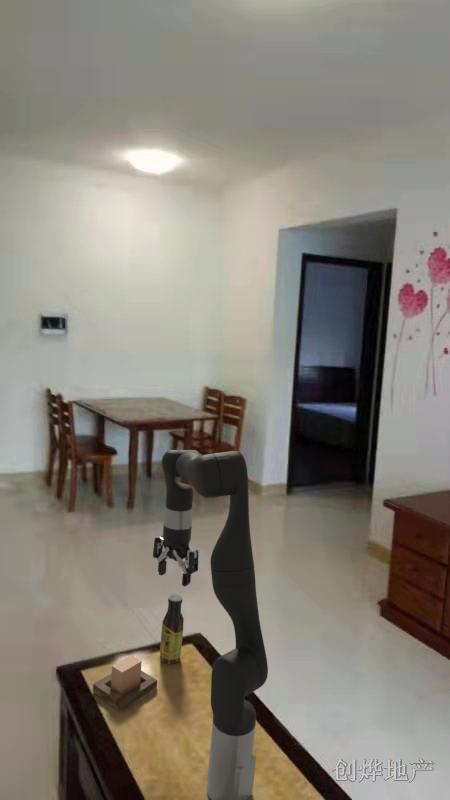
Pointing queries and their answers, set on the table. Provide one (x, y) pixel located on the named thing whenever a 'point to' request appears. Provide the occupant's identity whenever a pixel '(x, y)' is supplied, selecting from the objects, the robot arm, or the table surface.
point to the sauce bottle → (172, 631)
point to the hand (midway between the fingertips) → (173, 579)
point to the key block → (126, 675)
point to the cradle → (129, 698)
